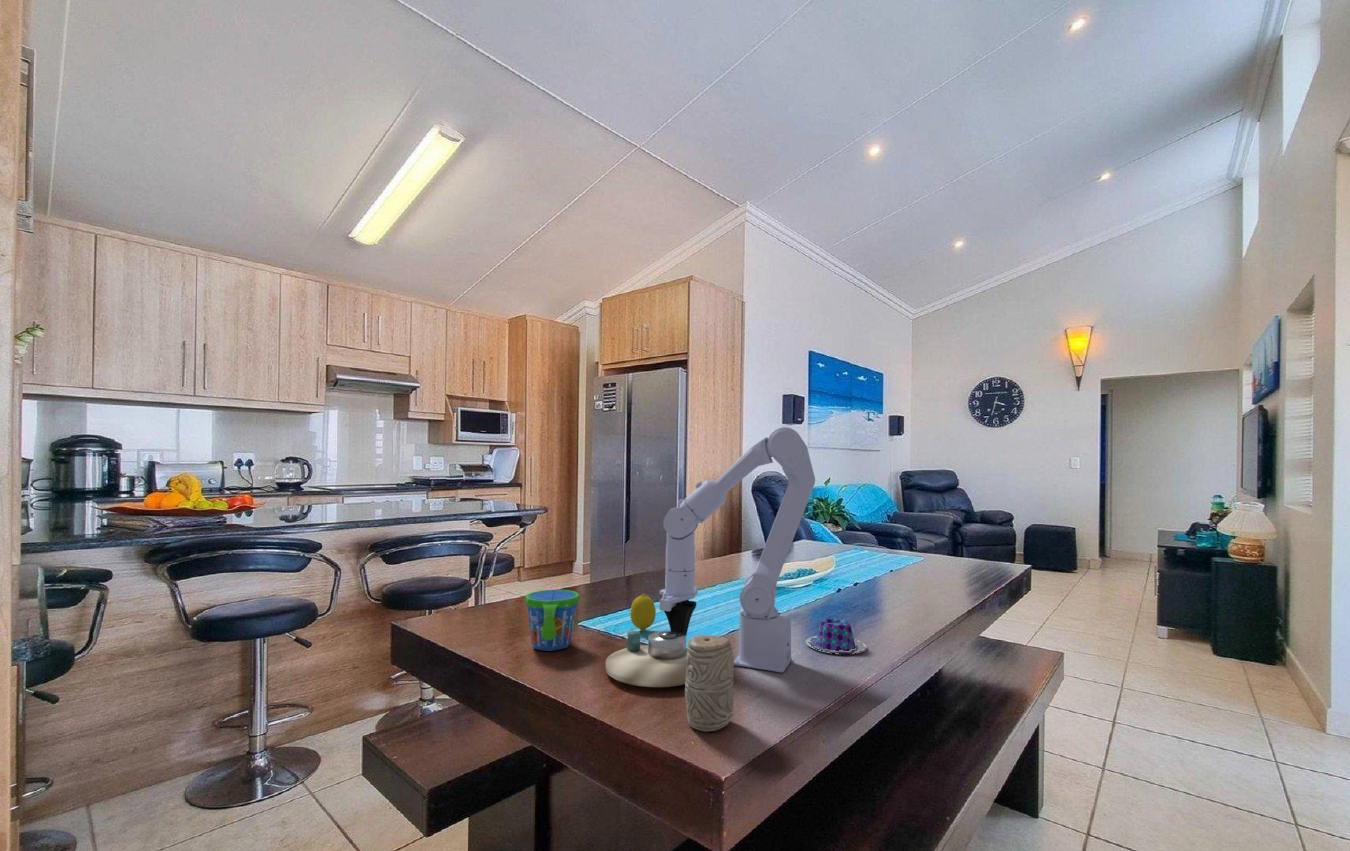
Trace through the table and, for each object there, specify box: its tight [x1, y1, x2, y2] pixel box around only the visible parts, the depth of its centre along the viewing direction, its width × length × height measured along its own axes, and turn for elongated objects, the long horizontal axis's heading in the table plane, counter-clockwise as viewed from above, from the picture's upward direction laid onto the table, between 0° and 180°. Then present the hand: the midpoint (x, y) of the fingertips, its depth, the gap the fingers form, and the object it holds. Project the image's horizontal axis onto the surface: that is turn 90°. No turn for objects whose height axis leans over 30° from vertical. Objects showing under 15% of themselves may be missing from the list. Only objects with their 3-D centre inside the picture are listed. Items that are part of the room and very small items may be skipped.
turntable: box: [605, 630, 688, 688], centre depth 100 cm, size 18×18×4 cm
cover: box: [647, 630, 687, 660], centre depth 105 cm, size 7×7×4 cm
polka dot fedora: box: [805, 618, 867, 655], centre depth 117 cm, size 12×12×5 cm
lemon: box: [630, 593, 657, 632], centre depth 125 cm, size 6×6×8 cm
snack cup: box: [524, 589, 580, 652], centre depth 114 cm, size 16×10×10 cm
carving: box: [684, 634, 735, 733], centre depth 81 cm, size 6×8×12 cm
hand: (678, 640), depth 110 cm, fingers closed
